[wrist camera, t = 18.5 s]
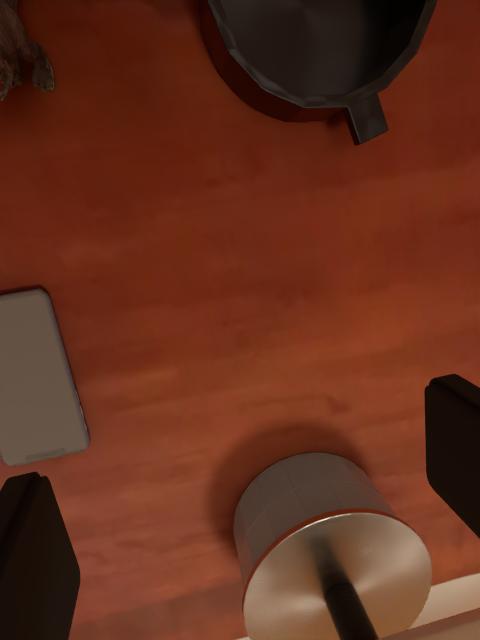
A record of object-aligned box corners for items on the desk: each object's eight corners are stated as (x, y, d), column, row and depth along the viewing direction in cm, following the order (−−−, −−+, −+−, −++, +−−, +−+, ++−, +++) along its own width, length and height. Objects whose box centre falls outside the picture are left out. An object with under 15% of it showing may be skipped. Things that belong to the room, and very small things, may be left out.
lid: (287, 686, 39) (316, 806, 31) (206, 564, 34) (217, 671, 26) (446, 602, 40) (514, 699, 32) (390, 469, 34) (454, 546, 27)
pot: (247, 592, 46) (265, 680, 38) (220, 474, 42) (233, 543, 33) (380, 554, 48) (426, 630, 39) (368, 436, 43) (416, 493, 35)
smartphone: (45, 288, 34) (91, 451, 38) (49, 286, 35) (93, 445, 39) (-55, 305, 33) (3, 470, 37) (-48, 302, 34) (8, 463, 38)
